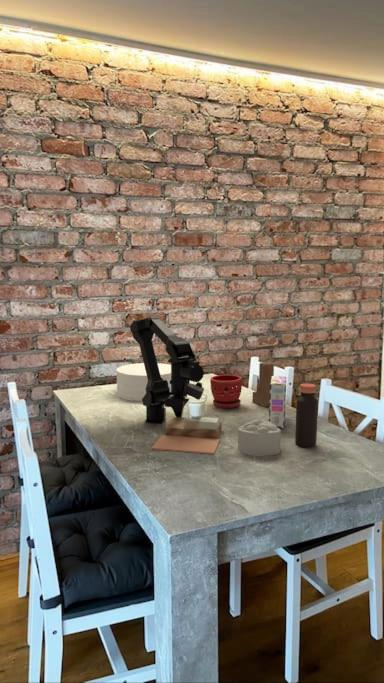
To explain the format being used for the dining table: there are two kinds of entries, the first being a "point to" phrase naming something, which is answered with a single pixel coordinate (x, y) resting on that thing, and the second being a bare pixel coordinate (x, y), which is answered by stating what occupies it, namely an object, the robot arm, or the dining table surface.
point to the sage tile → (209, 423)
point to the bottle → (306, 417)
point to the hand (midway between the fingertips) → (179, 420)
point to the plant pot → (226, 390)
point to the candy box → (277, 401)
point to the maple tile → (176, 422)
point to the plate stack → (137, 380)
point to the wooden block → (264, 384)
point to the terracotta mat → (187, 444)
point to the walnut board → (194, 431)
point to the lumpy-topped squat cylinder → (259, 438)
